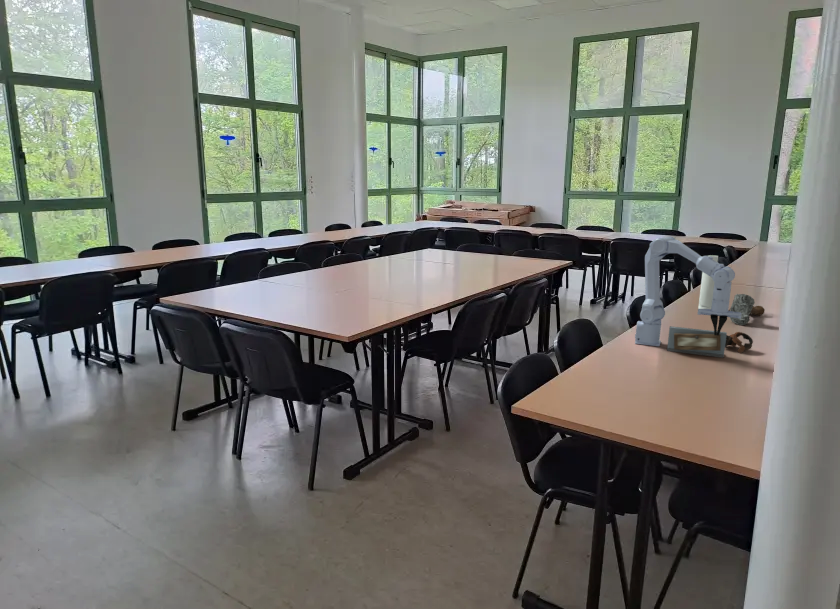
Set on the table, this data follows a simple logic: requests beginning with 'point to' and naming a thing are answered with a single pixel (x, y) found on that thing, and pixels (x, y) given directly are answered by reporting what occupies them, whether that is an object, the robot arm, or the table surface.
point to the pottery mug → (735, 341)
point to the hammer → (745, 308)
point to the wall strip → (695, 331)
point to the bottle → (706, 289)
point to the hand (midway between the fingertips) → (716, 334)
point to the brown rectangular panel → (697, 341)
